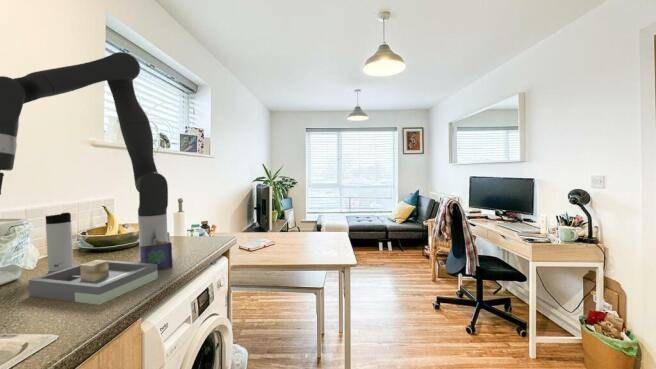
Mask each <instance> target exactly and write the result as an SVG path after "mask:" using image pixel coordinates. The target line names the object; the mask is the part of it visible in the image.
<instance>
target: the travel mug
mask: <svg viewBox="0 0 656 369" xmlns="http://www.w3.org/2000/svg"><path fill="white" fill-rule="evenodd" d="M71 216H72V215H71V212H60V213H59V214H53V215H45V232H46V233H45V234H46V251H47V252H46V253H47V255H46V256H47V269H48V270H47V271H48V273H47V274H50V273H53V272H57V271H60V270H63V269H67V268H70V267H73V266H75V265H74V250H73V249H74V248H73V228H72V219H71V218H72V217H71Z"/></svg>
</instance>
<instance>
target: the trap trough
mask: <svg viewBox="0 0 656 369" xmlns="http://www.w3.org/2000/svg"><path fill="white" fill-rule="evenodd" d="M102 260H103V261H108V267H109V276H107V277H104V278H101V279H99V280H96V281H83V280H81V272H80V265H81V264H82V263H81V264H78V265H74V266H73V267H70V268H67V269H63V270H60V271H57V272H53V273H50V274H49V273H47V274H44V275H41V276H37V277H34V278H30V279H28V280H27V282H28V296H29V297H32V298H33V297H34V298H40V299H49V300H57V301H65V302H72V303H73V302H75V303H82V304H90V305H98V306H99V305H103V304H105V303H107V302H109V301H111V300H113V299H116V298H117V297H120V296H122V295H124V294H127V293H128V292H132V291H133V290H135V289H137V288H139V287H141V286H145V285H146V284H149V283H150V282H153V281H154V280H157V279H159V276H158V275H159V274H158V273H159V272H158V271H159V270H157V264H149V263H141V262H133V261H122V260H121V261H120V260H107V259H106V260H105V259H102ZM91 261H92V260H91ZM91 261H87V262H86V263H88V262H91Z"/></svg>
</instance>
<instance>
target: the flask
mask: <svg viewBox="0 0 656 369" xmlns="http://www.w3.org/2000/svg"><path fill="white" fill-rule="evenodd" d="M153 241H154V244H146V245H141V246H140V248H139V253H140V252H141V262H140V263H149V264H157V271H159V270H160V271H161V270H168V269H172V268H173V247H172V246H173V245H172V244H173V243H172V242H171V241H170V242H166V241H164V242H163V241H161V242H160V241H158V238H155V239H154V240H153Z"/></svg>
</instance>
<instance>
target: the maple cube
mask: <svg viewBox="0 0 656 369" xmlns="http://www.w3.org/2000/svg"><path fill="white" fill-rule="evenodd" d="M103 260H104V259H94V260H91V262H90V261H87V262H88V263H87V262H83V263H81V265H80V264H79V265H80V272H81V280H83V281H96V280H99V279H101V278H104V277H107V276H109V267H108V261H103Z"/></svg>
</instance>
